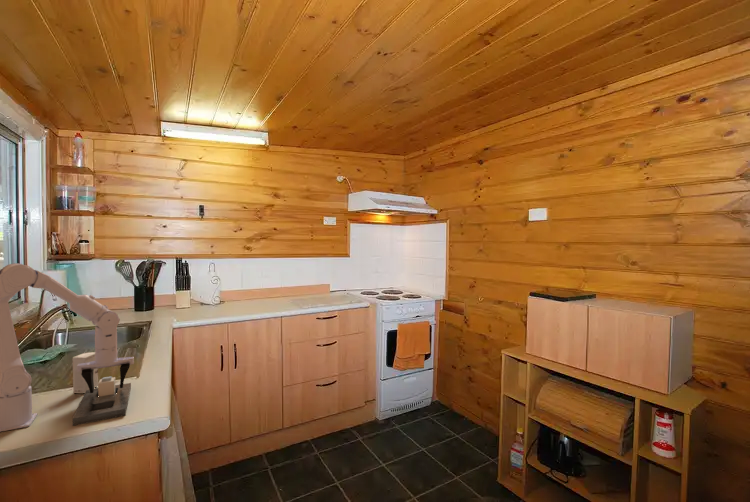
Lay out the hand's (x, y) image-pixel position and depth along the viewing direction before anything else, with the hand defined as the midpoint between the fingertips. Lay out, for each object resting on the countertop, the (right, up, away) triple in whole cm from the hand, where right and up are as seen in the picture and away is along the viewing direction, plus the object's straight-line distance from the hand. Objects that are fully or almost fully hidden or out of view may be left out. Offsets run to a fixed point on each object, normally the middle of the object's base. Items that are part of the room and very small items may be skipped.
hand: (107, 389), depth 118 cm
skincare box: (-12, -3, +7) cm, 14 cm away
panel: (+3, -3, -5) cm, 6 cm away
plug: (0, -3, 0) cm, 3 cm away
